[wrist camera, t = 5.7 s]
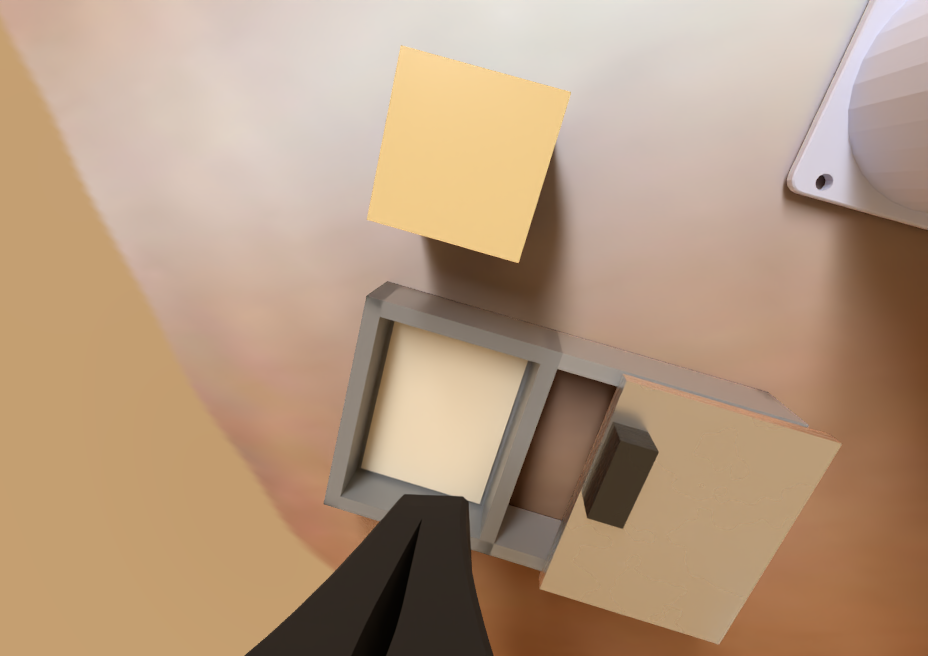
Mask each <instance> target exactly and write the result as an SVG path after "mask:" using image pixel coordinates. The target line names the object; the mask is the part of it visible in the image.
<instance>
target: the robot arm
mask: <svg viewBox="0 0 928 656" xmlns="http://www.w3.org/2000/svg"><path fill="white" fill-rule="evenodd" d="M821 175H823V176H824V177H825V180H826V181H825V185H824V186H823V187H822V188H821V189H819V190H818V189H817V188H816V185H815V183H816V180H817V178H818V177H819V176H821ZM787 186H788V188H789V189H790V190H791V191H792V192H794V193H796V194H800V195H803V196H807V197H810V198H814V199H818V200H821V201H825V202H828V203H832V204H836V205H839V206H843V207H846V208H850V209H854V210H857V211H861V212H864V213H868V214H872V215H875V216H879V217H882V218H886V219H890V220H893V221H897V222H900V223H904V224H908V225H911V226H915V227H918V228H922V229H926V230H928V0H870V1H869V3H868V5H867V7H866V10H865V12H864V14H863V16H862V18H861V20H860V22H859V24H858V27H857V29H856V31H855V33H854V35H853V37H852V39H851V42H850V44H849V46H848V48H847V50H846V52H845V54H844V56H843V59H842V61H841V63H840V65H839V67H838V69H837V71H836V74H835V76H834V78H833V80H832V82H831V84H830V86H829V88H828V91H827V93H826V95H825V97H824V99H823V101H822V103H821V106H820V108H819V110H818V112H817V114H816V116H815V118H814V120H813V123H812V125H811V127H810V129H809V131H808V133H807V135H806V138H805V140H804V142H803V144H802V146H801V148H800V150H799V153H798V155H797V157H796V159H795V161H794V163H793V165H792V167H791V170H790V172H789V174H788V177H787ZM245 656H493V653H492V649H491V646H490V643H489V639H488V636H487V632H486V629H485V625H484V621H483V617H482V614H481V610H480V606H479V602H478V598H477V593H476V589H475V584H474V579H473V574H472V562H471V541H470V519H469V501H467V500H466V499H465V498H464V497H463V496H442V495H416V494H404V495H403V496H402V497H401V498H400V499H399V500H398V501H397V502H396V503H395V504H394V506H393V507H392V508H391V509H390V510H389V511H388V513H387V514H386V515H385V516H384V517H383V519H382V520H381V521H380V522H379V523H378V524H377V526H376V527H375V528H374V529H373V530H372V531H371V532H370V534H369V535H368V536H367V537H366V538H365V539H364V540H363V541H362V543H361V544H360V545H359V546H358V547H357V548H356V549H355V550H354V551H353V552H352V553H351V554H350V556H349V557H348V558H347V559H346V560H345V561H344V562H343V563H342V564H341V565H340V566H339V568H338V569H337V570H336V571H335V572H334V573H333V574H332V575H331V576H330V577H329V578H328V579H327V580H326V581H325V582H324V583H323V584H322V585H321V586H320V587H319V588H318V589H317V590H316V591H315V592H314V593H313V594H312V595H311V596H310V597H309V598H308V599H307V600H306V601H305V602H304V603H303V604H302V605H301V606H300V607H299V608H298V609H297V610H295V612H293V613H292V614H291V615H290V616H289V617H288V618H287V619H286V620H285V621H284V622H282V623H281V624H280V625H279V626H278V627H277V628H276V629H275V630H274V631H273V632H272V633H270V634H269V635H268V636H267V637H266V638H265V639H263V640H262V641H261V642H260V643H259V644H258V645H257V646H255V647H254V648H253V649H252V650H251V651H249V652H248V653H247V654H246V655H245Z"/></svg>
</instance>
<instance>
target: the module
mask: <svg viewBox="0 0 928 656" xmlns="http://www.w3.org/2000/svg"><path fill="white" fill-rule="evenodd" d="M570 95H571V92H569V91H565V90H561V89H558V88H554V87H550V86H547V85H543V84H540V83H536V82H532V81H529V80H525V79H521V78H518V77H514V76H510V75H507V74H503V73H500V72H496V71H492V70H489V69H485V68H481V67H478V66H474V65H471V64H467V63H463V62H460V61H456V60H452V59H449V58H445V57H441V56H438V55H434V54H431V53H427V52H423V51H420V50H416V49H412V48H409V47H405V46H402V45H401V47H400V53H399V58H398V63H397V68H396V73H395V78H394V83H393V88H392V94H391V99H390V104H389V109H388V114H387V119H386V124H385V129H384V135H383V140H382V145H381V150H380V155H379V160H378V165H377V170H376V175H375V181H374V186H373V191H372V196H371V201H370V206H369V211H368V216H367V220H370V221H373V222H377V223H380V224H384V225H387V226H391V227H394V228H398V229H401V230H405V231H408V232H412V233H415V234H419V235H422V236H426V237H429V238H433V239H436V240H440V241H443V242H446V243H450V244H453V245H457V246H460V247H464V248H467V249H471V250H474V251H478V252H481V253H485V254H488V255H492V256H495V257H499V258H502V259H506V260H509V261H513V262H516V263H519V260H520V257H521V254H522V250H523V247H524V244H525V241H526V237H527V234H528V231H529V228H530V224H531V221H532V218H533V215H534V211H535V208H536V205H537V202H538V198H539V195H540V192H541V189H542V185H543V182H544V179H545V176H546V172H547V169H548V166H549V163H550V159H551V156H552V153H553V150H554V146H555V143H556V140H557V137H558V133H559V130H560V127H561V124H562V121H563V117H564V114H565V111H566V108H567V104H568V101H569V98H570Z"/></svg>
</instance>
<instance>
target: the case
mask: <svg viewBox="0 0 928 656" xmlns="http://www.w3.org/2000/svg"><path fill="white" fill-rule="evenodd" d="M557 369H559V370H563V371H566V372H569V373H573V374H576V375H580V376H583V377H586V378H590V379H593V380H597V381H600V382H604V383H607V384H610V385H614V386H618V384H619V381H620V379H621V376H622V374H626V375H629V376H633V377H636V378H640V379H643V380H646V381H650V382H653V383H657V384H660V385H664V386H667V387H670V388H674V389H677V390H681V391H684V392H687V393H691V394H694V395H698V396H701V397H705V398H708V399H711V400H715V401H718V402H722V403H725V404H728V405H732V406H735V407H739V408H742V409H745V410H749V411H752V412H756V413H759V414H763V415H766V416H769V417H773V418H776V419H780V420H783V421H786V422H790V423H793V424H797V425H800V426H804V427H808V426H809V425H808V424H807V423H805V422H804V421H803V420H802V419H800V418H799V417H798V416H797V415H796V414H794V413H793V412H792V411H791V410H789V409H788V408H787V407H786V406H784V405H783V404H782V403H781V402H779V401H778V400H777V399H776V398H775V397H773V396H772V395H771V394H770V393H768V392H765V391H762V390H758V389H755V388H752V387H748V386H745V385H741V384H738V383H734V382H731V381H727V380H724V379H721V378H717V377H714V376H710V375H707V374H703V373H700V372H697V371H693V370H690V369H686V368H683V367H679V366H676V365H673V364H669V363H666V362H662V361H659V360H655V359H652V358H649V357H645V356H642V355H638V354H635V353H631V352H628V351H625V350H621V349H618V348H614V347H611V346H607V345H604V344H600V343H597V342H594V341H590V340H587V339H583V338H580V337H576V336H573V335H570V334H566V333H563V332H559V331H556V330H552V329H549V328H546V327H542V326H539V325H535V324H532V323H528V322H525V321H522V320H518V319H515V318H511V317H508V316H504V315H501V314H497V313H494V312H491V311H487V310H484V309H480V308H477V307H473V306H470V305H467V304H463V303H460V302H456V301H453V300H449V299H446V298H443V297H439V296H436V295H432V294H429V293H425V292H422V291H419V290H415V289H412V288H408V287H405V286H401V285H398V284H395V283H391V282H388V281H387V282H386V283H384V284H383V285H381V286H380V287H378V288H377V289H376V290H374V291H373V292H371V293H370V294H368V295H367V296H366V301H365V306H364V311H363V316H362V320H361V325H360V330H359V335H358V340H357V345H356V350H355V354H354V359H353V364H352V369H351V374H350V379H349V384H348V388H347V393H346V398H345V403H344V408H343V413H342V418H341V422H340V427H339V432H338V437H337V442H336V447H335V452H334V456H333V461H332V466H331V471H330V476H329V481H328V486H327V490H326V495H325V500H324V504H325V505H328V506H331V507H335V508H338V509H341V510H344V511H348V512H351V513H354V514H357V515H361V516H364V517H367V518H370V519H374V520H377V521H381V520H382V519H383V517H384V516H385V515H386V514H387V513H388V511H389V510H390V509H391V508H392V507H393V506H394V504H395V503H396V502H397V501H398V500H399V499H400V498H401V497H402V496H403V495H404V494H416V495H442V496H463V497H464V498H465V499H466V500H467V501H469V519H470V541H471V550H474V551H478V552H481V553H484V554H487V555H491V556H494V557H497V558H500V559H504V560H507V561H510V562H513V563H517V564H520V565H523V566H526V567H530V568H533V569H536V570H539V571H541V570H542V567H543V565H544V563H545V560H546V558H547V555H548V553H549V550H550V548H551V546H552V543H553V541H554V538H555V536H556V534H557V531H558V529H559V526H560V524H561V520H557V519H554V518H551V517H547V516H544V515H541V514H538V513H534V512H531V511H528V510H524V509H521V508H518V507H515V506H511V505H508V504H509V501H510V498H511V495H512V493H513V490H514V487H515V484H516V482H517V479H518V476H519V473H520V471H521V468H522V465H523V462H524V460H525V457H526V454H527V451H528V448H529V446H530V443H531V440H532V437H533V435H534V432H535V429H536V426H537V424H538V421H539V418H540V415H541V413H542V410H543V407H544V404H545V402H546V399H547V396H548V393H549V391H550V388H551V385H552V382H553V380H554V377H555V374H556V371H557Z"/></svg>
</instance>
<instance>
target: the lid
mask: <svg viewBox="0 0 928 656" xmlns="http://www.w3.org/2000/svg"><path fill="white" fill-rule="evenodd" d="M841 445H842V443H840V442H839V441H838V440H837V439H835V438H834V437H833V436H832V435H830V434H827V433H824V432H821V431H817V430H814V429H810V428H807V427H804V426H800V425H797V424H793V423H790V422H786V421H783V420H780V419H776V418H773V417H769V416H766V415H763V414H759V413H756V412H752V411H749V410H745V409H742V408H739V407H735V406H732V405H728V404H725V403H722V402H718V401H715V400H711V399H708V398H705V397H701V396H698V395H694V394H691V393H687V392H684V391H681V390H677V389H674V388H670V387H667V386H664V385H660V384H657V383H653V382H650V381H646V380H643V379H640V378H636V377H633V376H629V375H626V374H622V376H621V379H620V381H619V384H618V386H617V388H616V391H615V393H614V396H613V398H612V401H611V403H610V405H609V408H608V410H607V413H606V415H605V417H604V420H603V422H602V425H601V427H600V430H599V432H598V434H597V437H596V439H595V442H594V444H593V446H592V449H591V451H590V454H589V456H588V459H587V461H586V463H585V466H584V468H583V471H582V473H581V476H580V478H579V480H578V483H577V485H576V488H575V490H574V492H573V495H572V497H571V500H570V502H569V505H568V507H567V509H566V512H565V514H564V517H563V519H562V521H561V524H560V526H559V529H558V531H557V534H556V536H555V538H554V541H553V543H552V546H551V548H550V550H549V553H548V555H547V558H546V560H545V563H544V565H543V567H542V570H541V572H540V575H539V589H541V590H544V591H548V592H551V593H554V594H557V595H561V596H564V597H567V598H570V599H573V600H577V601H580V602H583V603H586V604H590V605H593V606H596V607H599V608H603V609H606V610H609V611H612V612H616V613H619V614H622V615H625V616H628V617H632V618H635V619H638V620H641V621H645V622H648V623H651V624H654V625H658V626H661V627H664V628H667V629H671V630H674V631H677V632H680V633H683V634H687V635H690V636H693V637H696V638H700V639H703V640H706V641H709V642H713V643H716V644H720V642H721V641H722V639H723V637H724V636H725V634H726V633H727V631H728V629H729V628H730V626H731V624H732V623H733V621H734V619H735V618H736V616H737V615H738V613H739V611H740V610H741V608H742V606H743V605H744V603H745V602H746V600H747V598H748V597H749V595H750V593H751V592H752V590H753V589H754V587H755V585H756V584H757V582H758V580H759V579H760V577H761V576H762V574H763V572H764V571H765V569H766V567H767V566H768V564H769V562H770V561H771V559H772V558H773V556H774V554H775V553H776V551H777V549H778V548H779V546H780V545H781V543H782V541H783V540H784V538H785V536H786V535H787V533H788V532H789V530H790V528H791V527H792V525H793V523H794V522H795V520H796V519H797V517H798V515H799V514H800V512H801V510H802V509H803V507H804V505H805V504H806V502H807V501H808V499H809V497H810V496H811V494H812V492H813V491H814V489H815V488H816V486H817V484H818V483H819V481H820V479H821V478H822V476H823V475H824V473H825V471H826V470H827V468H828V466H829V465H830V463H831V461H832V460H833V458H834V457H835V455H836V453H837V452H838V450H839V448H840V447H841Z"/></svg>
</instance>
